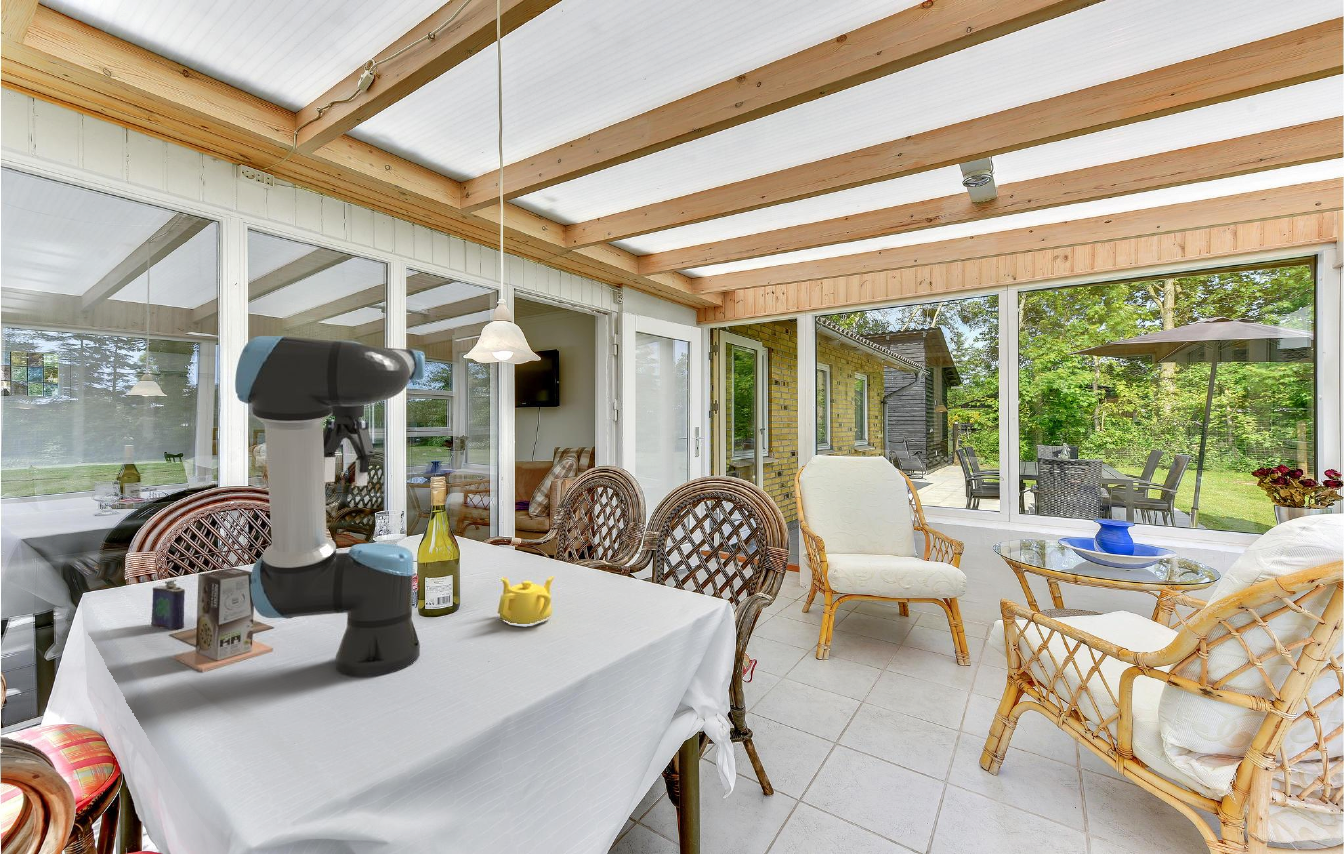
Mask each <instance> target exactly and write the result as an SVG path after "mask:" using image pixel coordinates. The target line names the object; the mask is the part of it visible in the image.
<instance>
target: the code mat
mask: <svg viewBox="0 0 1344 854" xmlns="http://www.w3.org/2000/svg"><path fill="white" fill-rule="evenodd" d="M272 629H275V626H272V625H269V624H266V623H264V622H260V621H257V620H254V619H253V635H254V634H258V633H261V632H265V631H269V630H272ZM196 632H197V627H194V628H191V629H189V628H188V629H186V630H182V631H178V632H174V633H170V634H169V636H171V637H172V636H173V637H172V638H175V639H177V638H178V640H179V641H182V640H183V641H182V642H184V641H185V642H184V643H186V642H187V644H189V645H191V644H192V645H191V646H193V645H194V646H193V647H196Z"/></svg>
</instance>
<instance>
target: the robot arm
mask: <svg viewBox="0 0 1344 854" xmlns="http://www.w3.org/2000/svg"><path fill="white" fill-rule="evenodd" d="M425 371H426V356H425V352H424V351H422V350H416V349H412V348H411V349H410V348H409V349H406V348H405V349H404V348H393V347H392V348H391V347H378V346H373V345H368V344H364V343H361V342H357V341H353V340H351V341H350V340H324V339H318V338H317V339H316V338H305V337H304V338H303V337H297V336H296V337H294V336H293V337H292V336H286V335H281V336H280V335H279V336H277V335H273V336H272V335H259V336H256V337H253V338H251V339H250V340H249V341H247V343H246V344H245V345H244V347H243V349H242V351H241V353H240V356H239V359H238V361H237V367H236V371H235V372H236V373H235V380H234V386H235V387H234V388H235V393H236V394H237V396H236V397H237V399H238V400H239V401H240V402H242V403H245V404H247V405H249V404H251V406H252V407H251V409H252V410H251V411H252V416H253V417H254V418H255V419H257V420H258V421H260V422H261V423H263V425H264V437H265V439H264V440H265V452H266V453H265V454H266V469H267V470H266V471H267V485H268V501H269V516H270V533H271V534H270V535H271V544H270V545H269V546H268V547H266V548H265V550H264V551H263V553H262V557H260V558H258V559H256V561H255V563H254V565H253V568H252V570H251V572H252V574H251V580H252V584H251V597H252V601H253V604H254V610H255V611H256V613H258V614H259V615H260V616H262V617H263V618H266V619H281V618H282V619H292V618H297V617H310V616H321V615H322V616H323V615H333V614H334V615H335V614H346V615H347V618H346V619H347V620H346V628H345V632H344V633H343V637H341V638H342V639H341V641H340V644H339V647H338V650H337V652H336V654H335V659H334V668H335V671H336V672H337V673H339V674H341V675H344V676H348V677H373V676H378V675H379V676H380V675H384V674H388V673H389V674H390V673H392V672H396V671H399V670H403V669H404V667H405V668H406V667H408V665H409V666H411V665H412V664H414V663H415V662H416V661H417V660H418V659H419V658H418V657H420V651H421V649H420V648H421V645H420V644H421V643H420V640H419V637H418V635H417V634H418V633H417V631H416V627H415V624H414V622H413V619H412V618H413V587H414V586H413V585H414V584H413V583H414V575H415V569H414V554H413V553H412V552H411V550H410V549H408V548H407V547H404V546H402V545H396V544H390V543H381V542H380V543H379V542H373V543H372V542H369V543H357V544H354V545H352V546H351V547H350V548H349V550H348V552H338V553H337V544H336V542H335V540H333V539H331V538H329V537H328V535H327V534H328V533H327V510H326V509H327V507H326V503H327V502H326V483H334V482H336V479H335V478H336V477H335V476H336V456H337V455H336V453H337V450H338V448H339V447H340V444H342V441H343V440H344V439H347V440H348V441H350V444H351V446H352V448H353V449H354V450H353V451H354V452H355V454H356V458H355V474H354V486H355V487H361V486H363V487H364V486H368V472H369V460H370V459H372V458H375V457H376V452H375V448H374V445H373V442H372V438H371V435H370V430H369V422H368V420H360V418H363V417H364V415H365V406H366V405H372V404H376V403H380V402H382V401H387V400H388V399H391V398H394V397H395V396H397V395H399V394H400V393H402V391H403V390H405V388H407V385H408V383H409V382H410V381H418V380H419V381H421V380H423V379H424V377H425ZM330 417H334V419H328V418H330ZM324 422H325V428H324ZM414 661H415V662H414ZM413 662H414V663H413ZM411 663H412V664H411ZM410 664H411V665H410Z"/></svg>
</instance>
